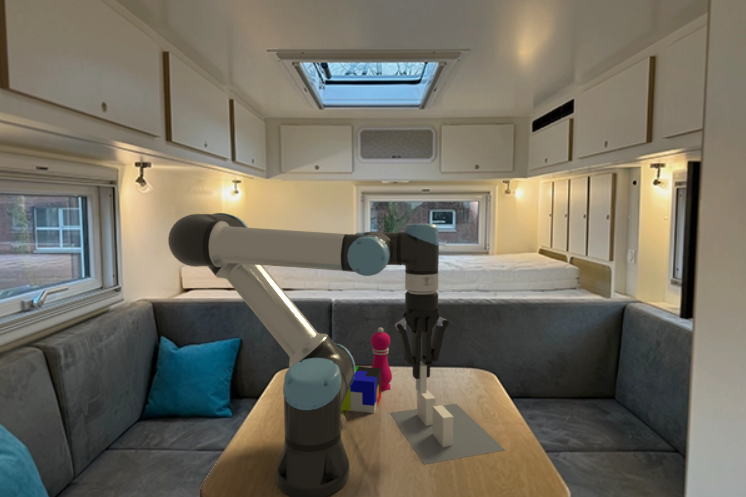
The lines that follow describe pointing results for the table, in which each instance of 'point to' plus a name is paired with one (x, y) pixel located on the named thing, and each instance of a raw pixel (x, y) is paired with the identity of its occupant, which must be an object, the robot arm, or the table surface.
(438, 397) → the table surface
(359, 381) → the puzzle toy
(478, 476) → the table surface
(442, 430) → the tile
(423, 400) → the tile
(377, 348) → the pepper mill
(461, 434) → the slate board
